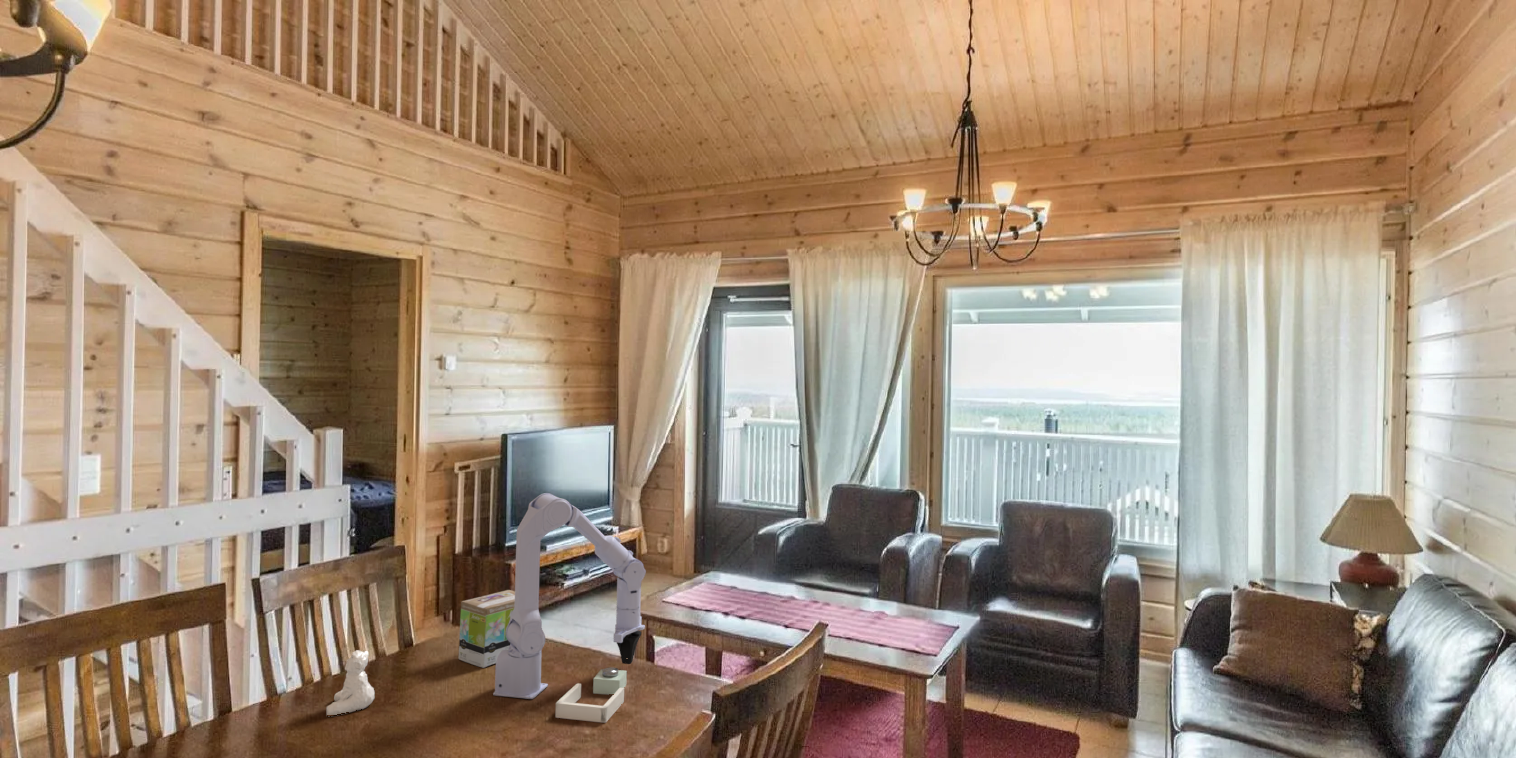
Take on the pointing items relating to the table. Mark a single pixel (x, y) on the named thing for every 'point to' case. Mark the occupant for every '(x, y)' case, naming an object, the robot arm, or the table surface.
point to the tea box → (485, 627)
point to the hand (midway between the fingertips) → (627, 662)
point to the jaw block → (609, 681)
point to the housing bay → (587, 706)
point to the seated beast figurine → (353, 687)
